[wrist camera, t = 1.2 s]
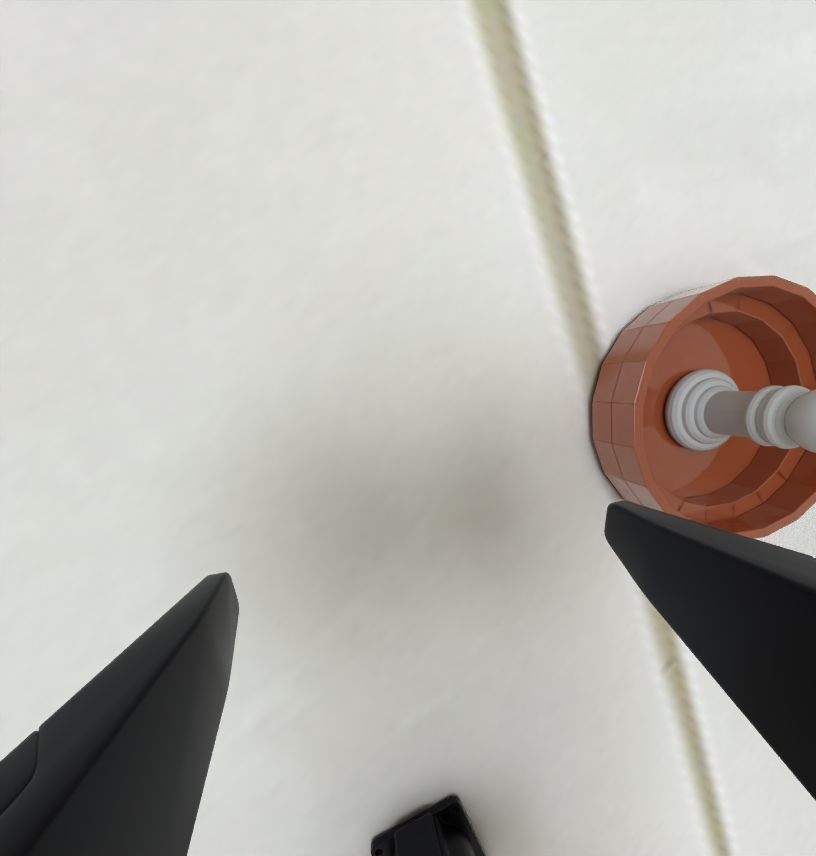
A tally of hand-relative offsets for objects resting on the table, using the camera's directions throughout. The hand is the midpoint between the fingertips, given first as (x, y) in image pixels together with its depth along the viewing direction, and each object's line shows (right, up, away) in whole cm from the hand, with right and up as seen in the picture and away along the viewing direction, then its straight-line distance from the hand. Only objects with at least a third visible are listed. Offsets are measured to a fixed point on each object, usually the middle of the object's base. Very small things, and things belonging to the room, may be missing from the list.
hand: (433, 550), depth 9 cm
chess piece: (+19, +4, +17) cm, 25 cm away
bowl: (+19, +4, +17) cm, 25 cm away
